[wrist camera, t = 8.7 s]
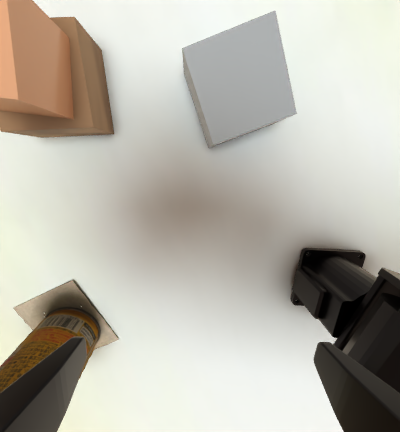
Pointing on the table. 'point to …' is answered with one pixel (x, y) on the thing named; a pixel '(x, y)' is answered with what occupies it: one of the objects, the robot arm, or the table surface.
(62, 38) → the terracotta cube
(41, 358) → the condiment
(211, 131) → the slate block
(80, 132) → the walnut block
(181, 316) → the table surface
